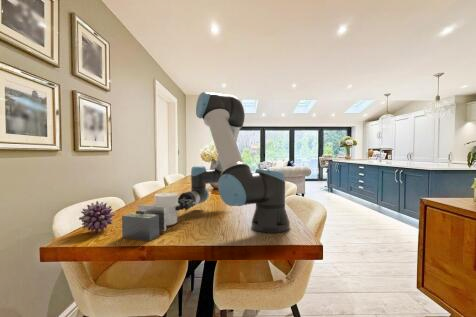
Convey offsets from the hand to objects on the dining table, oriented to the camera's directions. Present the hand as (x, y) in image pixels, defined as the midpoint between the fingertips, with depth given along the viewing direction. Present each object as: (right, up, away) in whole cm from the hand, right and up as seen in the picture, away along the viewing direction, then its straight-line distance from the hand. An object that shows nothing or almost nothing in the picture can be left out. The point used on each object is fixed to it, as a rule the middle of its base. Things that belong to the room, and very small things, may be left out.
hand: (159, 209), depth 97 cm
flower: (-23, -8, -4) cm, 24 cm away
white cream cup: (+2, -7, +4) cm, 8 cm away
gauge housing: (-4, -8, -10) cm, 13 cm away
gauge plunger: (-3, -7, -7) cm, 10 cm away
